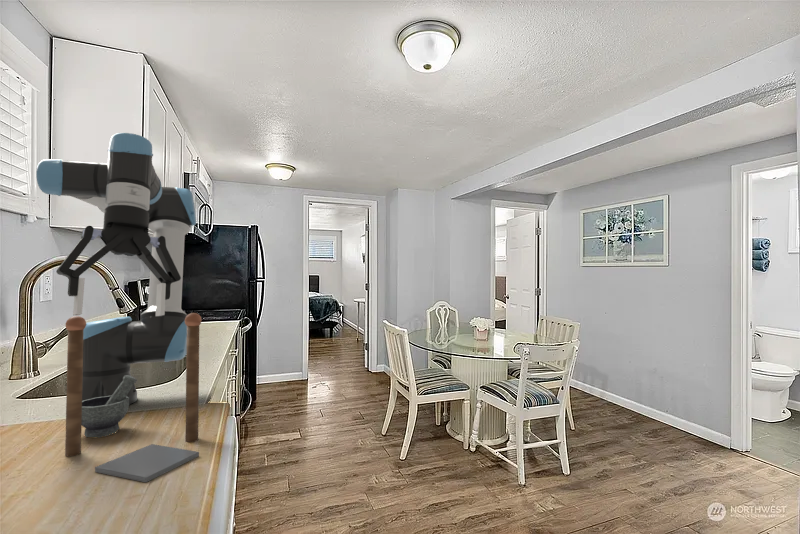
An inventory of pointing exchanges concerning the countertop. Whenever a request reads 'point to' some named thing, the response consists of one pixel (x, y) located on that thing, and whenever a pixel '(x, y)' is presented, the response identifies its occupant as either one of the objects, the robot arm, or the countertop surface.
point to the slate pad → (147, 462)
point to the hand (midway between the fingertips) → (121, 315)
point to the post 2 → (192, 376)
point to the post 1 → (74, 385)
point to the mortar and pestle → (106, 410)
